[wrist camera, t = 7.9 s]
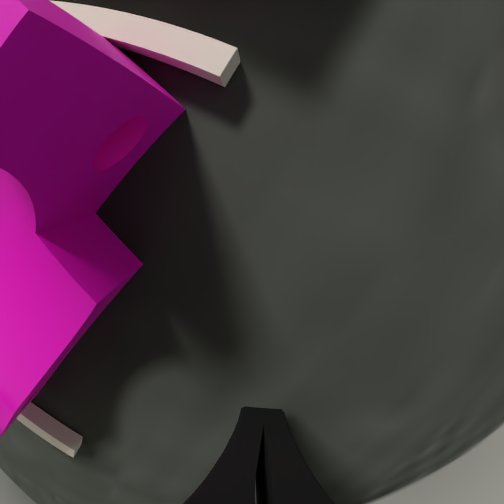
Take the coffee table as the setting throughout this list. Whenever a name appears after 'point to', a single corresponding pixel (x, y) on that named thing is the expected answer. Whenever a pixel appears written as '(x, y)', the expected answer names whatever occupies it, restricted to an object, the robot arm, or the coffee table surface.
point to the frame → (162, 49)
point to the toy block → (62, 184)
